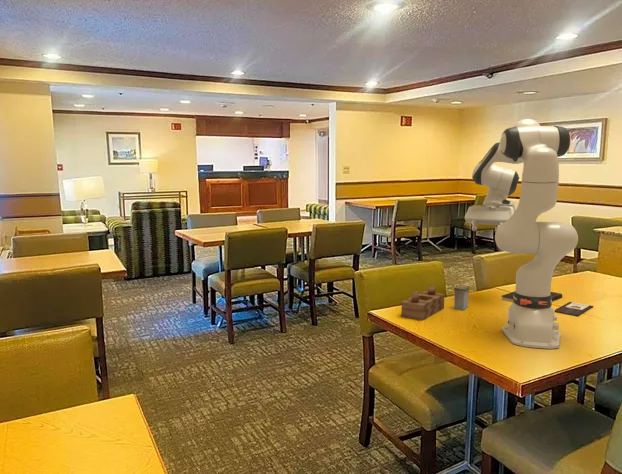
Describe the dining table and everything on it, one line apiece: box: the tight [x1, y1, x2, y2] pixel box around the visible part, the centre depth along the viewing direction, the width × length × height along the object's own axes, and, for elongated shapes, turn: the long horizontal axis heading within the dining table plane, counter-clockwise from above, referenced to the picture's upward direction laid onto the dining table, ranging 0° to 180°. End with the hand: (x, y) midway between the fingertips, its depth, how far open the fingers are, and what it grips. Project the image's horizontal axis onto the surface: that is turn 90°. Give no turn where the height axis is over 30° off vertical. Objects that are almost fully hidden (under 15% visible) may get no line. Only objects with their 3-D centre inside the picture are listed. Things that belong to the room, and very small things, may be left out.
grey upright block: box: [453, 284, 470, 312], centre depth 194 cm, size 5×4×9 cm
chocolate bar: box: [554, 301, 594, 318], centre depth 191 cm, size 9×1×18 cm
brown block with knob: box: [401, 285, 445, 321], centre depth 190 cm, size 20×9×10 cm, turn 141°
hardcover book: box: [500, 291, 563, 303], centre depth 208 cm, size 16×23×2 cm
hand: (484, 230), depth 197 cm, fingers open, 8 cm apart
